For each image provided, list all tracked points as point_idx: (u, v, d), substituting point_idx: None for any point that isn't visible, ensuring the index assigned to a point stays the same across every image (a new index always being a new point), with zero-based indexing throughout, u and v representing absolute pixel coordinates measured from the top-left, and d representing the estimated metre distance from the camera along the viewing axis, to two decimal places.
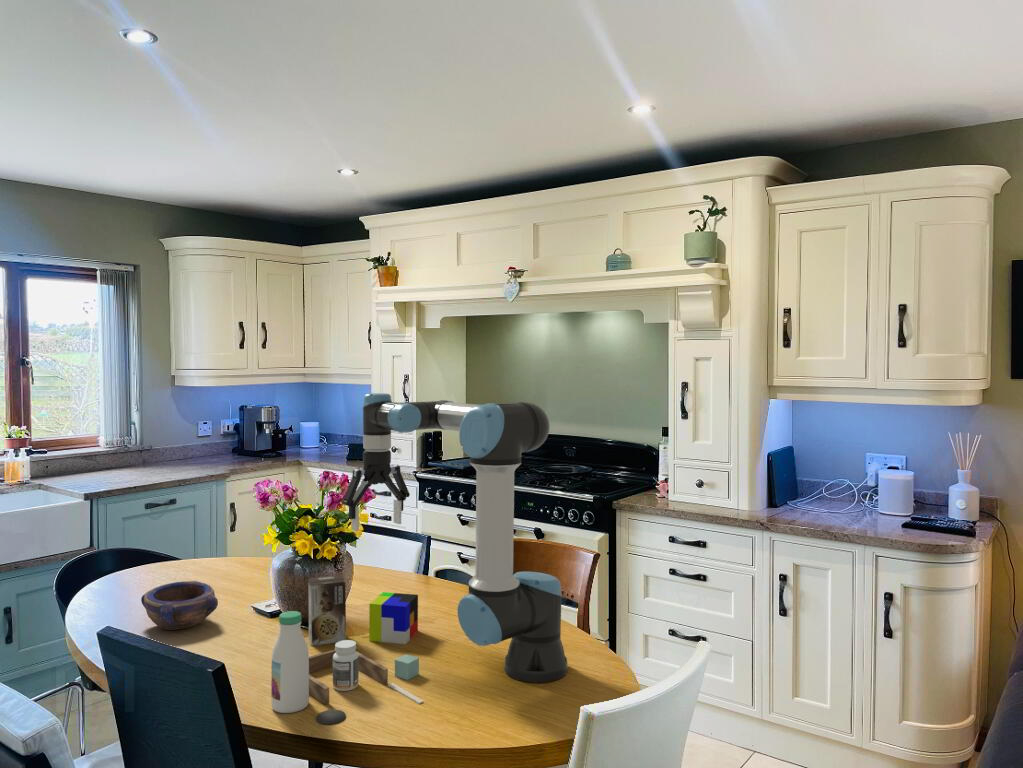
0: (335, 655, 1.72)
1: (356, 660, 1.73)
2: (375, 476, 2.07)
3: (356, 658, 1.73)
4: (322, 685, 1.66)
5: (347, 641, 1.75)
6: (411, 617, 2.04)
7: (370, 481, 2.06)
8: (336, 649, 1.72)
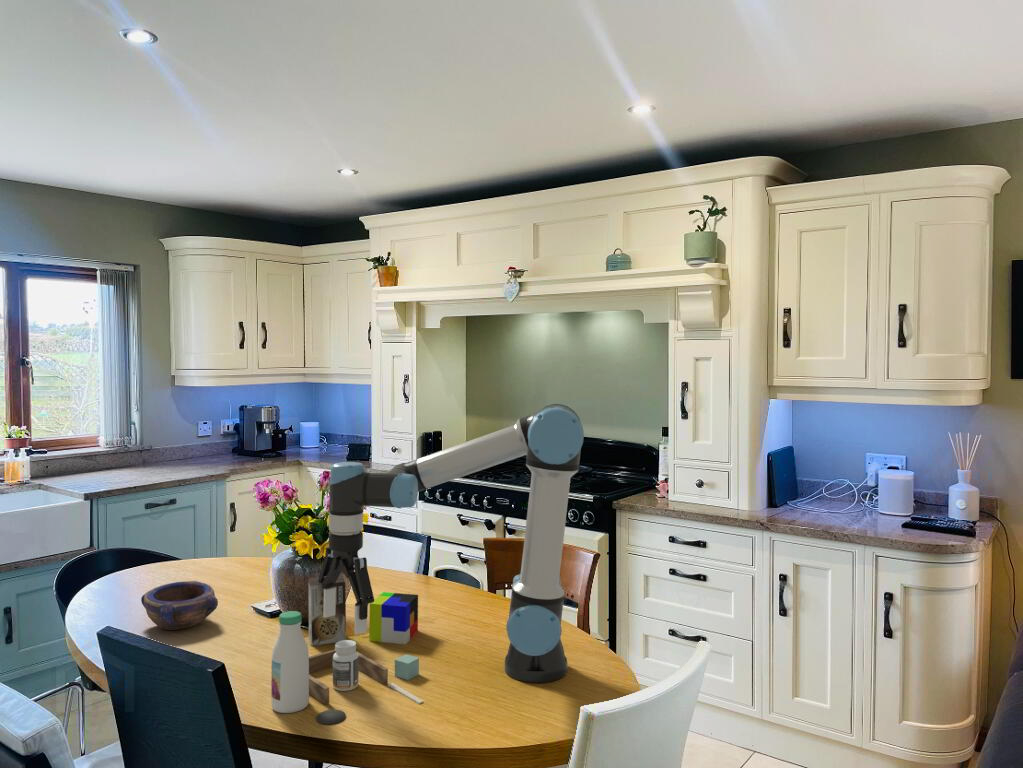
0: (335, 655, 1.72)
1: (356, 660, 1.73)
2: (334, 561, 1.73)
3: (356, 658, 1.73)
4: (322, 685, 1.66)
5: (347, 641, 1.75)
6: (411, 617, 2.04)
7: (331, 565, 1.74)
8: (336, 649, 1.72)
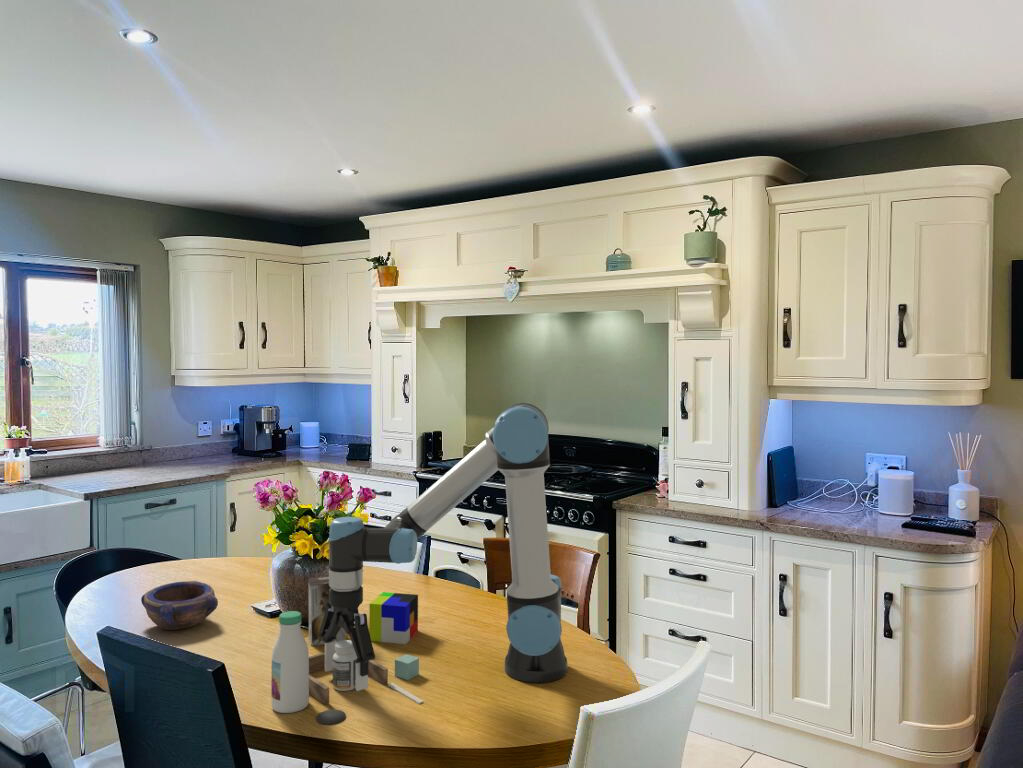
0: (335, 655, 1.72)
1: (356, 660, 1.73)
2: (334, 616, 1.73)
3: (356, 658, 1.73)
4: (322, 685, 1.66)
5: (347, 641, 1.75)
6: (411, 617, 2.04)
7: (332, 620, 1.75)
8: (336, 649, 1.72)
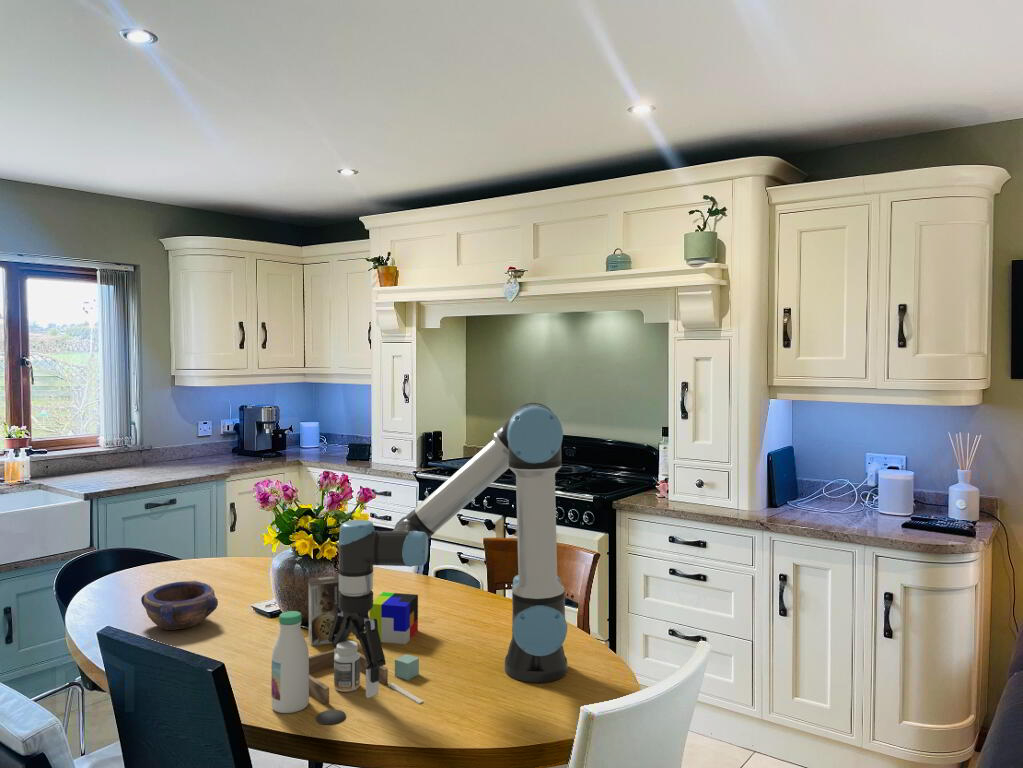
0: (336, 656, 1.72)
1: (357, 661, 1.72)
2: (344, 621, 1.70)
3: (357, 659, 1.72)
4: (322, 685, 1.66)
5: (348, 642, 1.74)
6: (411, 617, 2.04)
7: (342, 625, 1.72)
8: (337, 650, 1.72)
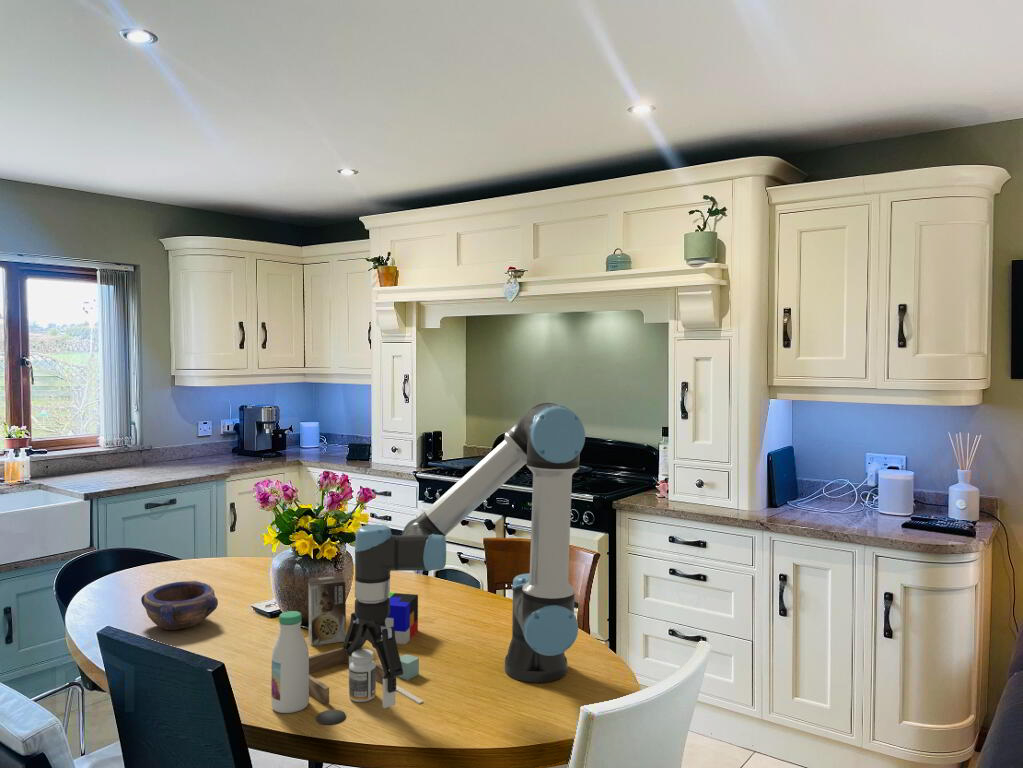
0: (352, 665, 1.67)
1: (373, 670, 1.67)
2: (360, 629, 1.65)
3: (373, 668, 1.67)
4: (322, 685, 1.66)
5: (364, 650, 1.70)
6: (411, 617, 2.04)
7: (357, 632, 1.67)
8: (353, 659, 1.67)
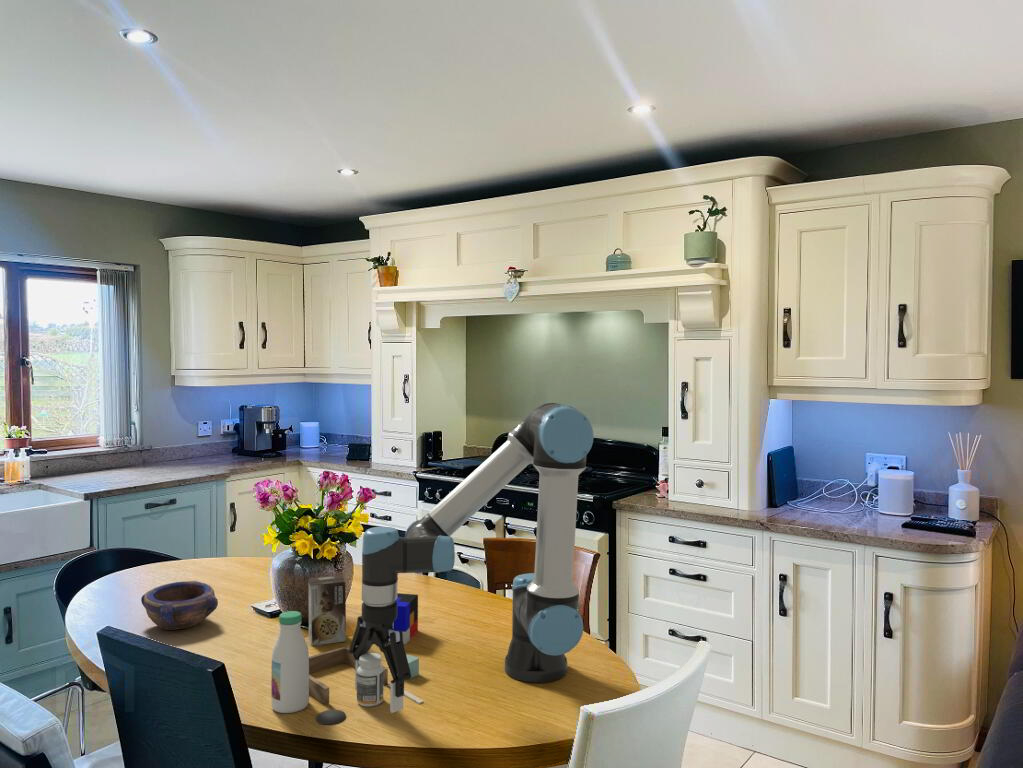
0: (360, 670, 1.65)
1: (382, 673, 1.66)
2: (367, 633, 1.63)
3: (382, 671, 1.66)
4: (322, 685, 1.66)
5: (371, 654, 1.68)
6: (411, 617, 2.04)
7: (364, 636, 1.64)
8: (361, 663, 1.64)
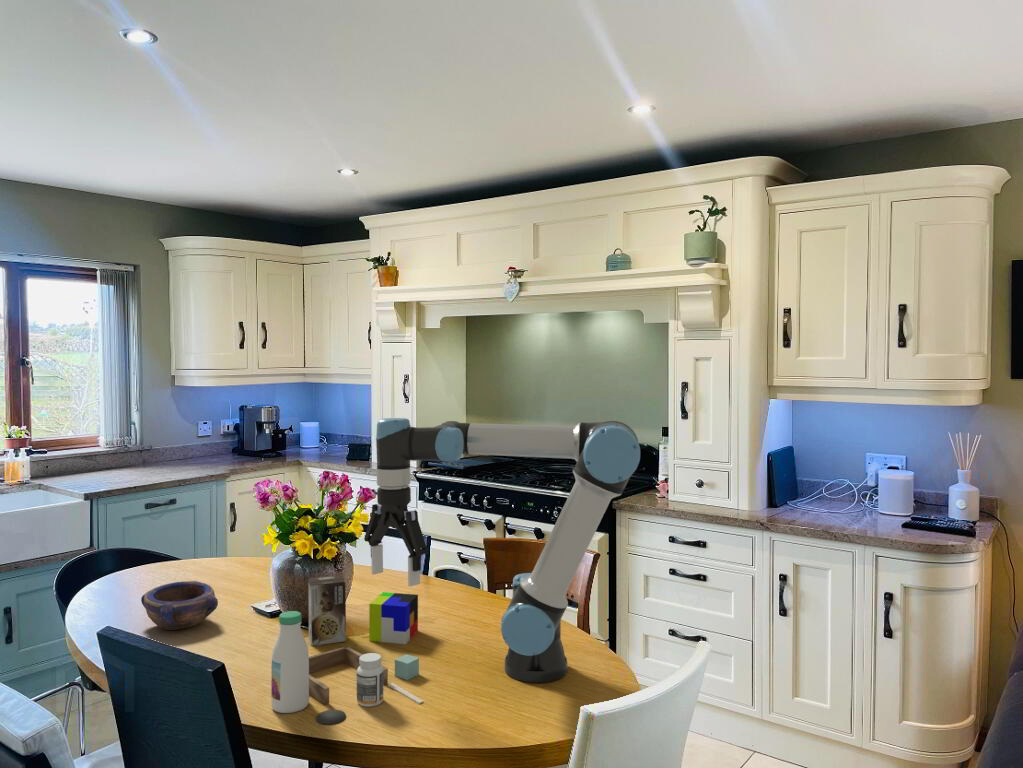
0: (360, 670, 1.65)
1: (382, 674, 1.66)
2: (382, 516, 1.74)
3: (382, 672, 1.66)
4: (322, 685, 1.66)
5: (371, 654, 1.68)
6: (411, 617, 2.04)
7: (380, 521, 1.75)
8: (361, 663, 1.64)
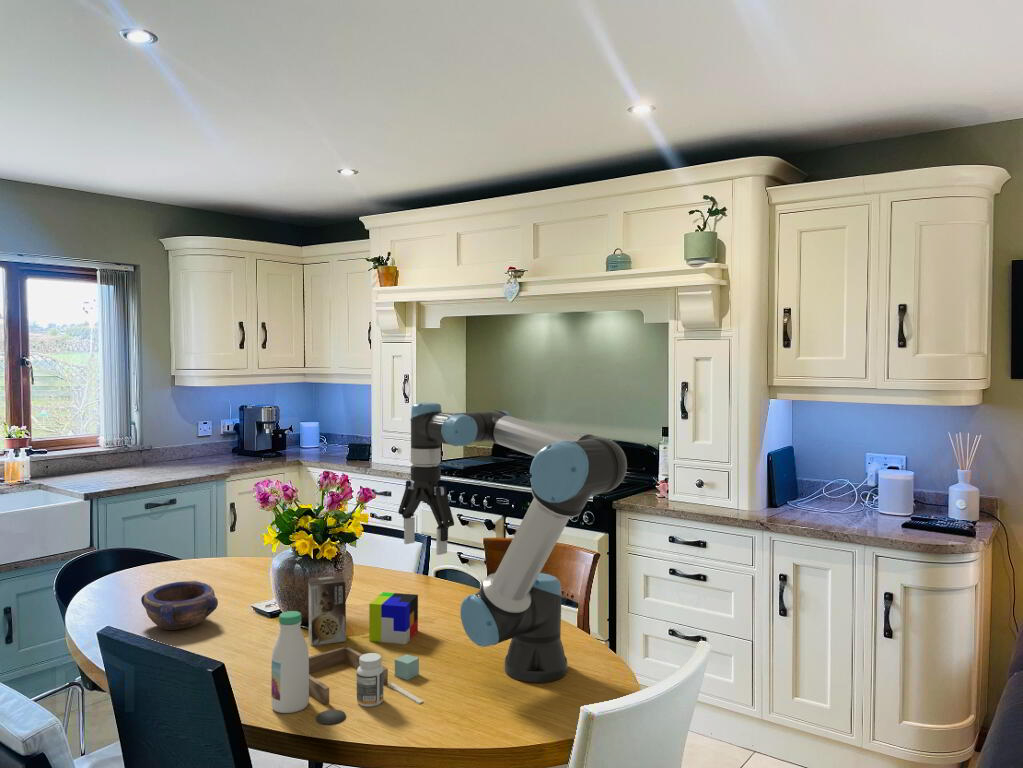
0: (360, 670, 1.65)
1: (382, 674, 1.66)
2: (415, 491, 1.92)
3: (382, 672, 1.66)
4: (322, 685, 1.66)
5: (371, 654, 1.68)
6: (411, 617, 2.04)
7: (412, 495, 1.93)
8: (361, 663, 1.64)
